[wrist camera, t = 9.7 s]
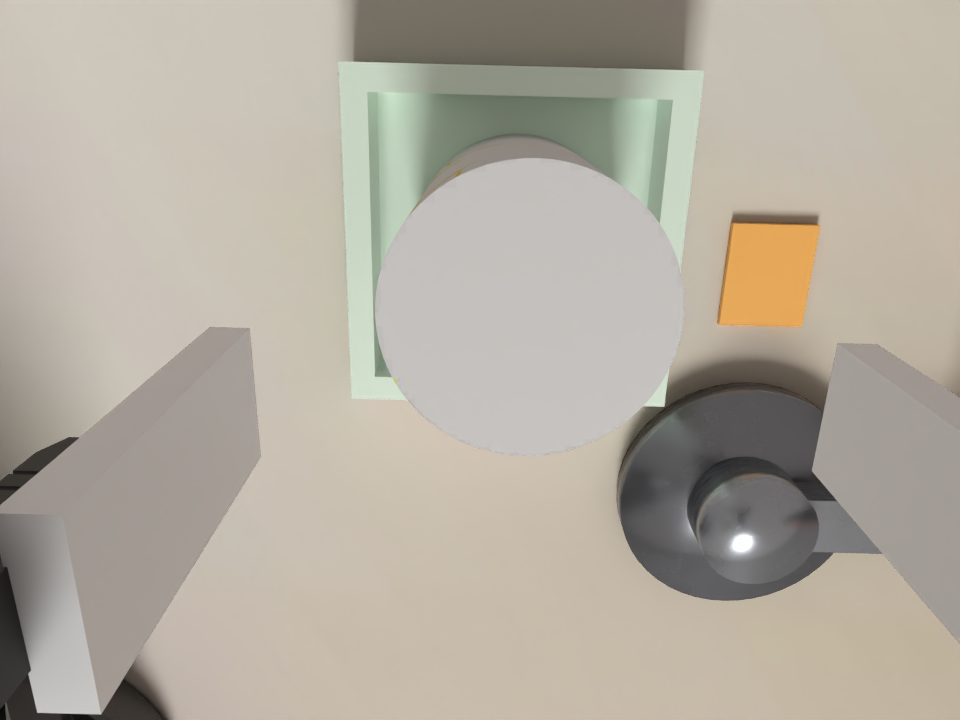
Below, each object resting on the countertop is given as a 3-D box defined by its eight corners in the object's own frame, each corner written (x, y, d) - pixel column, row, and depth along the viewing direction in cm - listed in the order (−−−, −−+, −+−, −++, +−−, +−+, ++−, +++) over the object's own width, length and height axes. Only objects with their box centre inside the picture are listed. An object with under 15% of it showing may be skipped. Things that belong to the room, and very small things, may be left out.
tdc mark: (717, 322, 32) (719, 324, 32) (731, 222, 31) (733, 223, 31) (799, 324, 32) (801, 326, 32) (817, 224, 31) (820, 225, 31)
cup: (443, 109, 29) (413, 119, 18) (640, 163, 30) (730, 206, 18) (399, 302, 32) (348, 417, 20) (579, 348, 32) (626, 484, 21)
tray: (362, 372, 33) (351, 398, 31) (352, 64, 29) (338, 61, 26) (649, 380, 33) (664, 406, 31) (683, 72, 29) (704, 70, 26)
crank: (681, 550, 35) (721, 646, 29) (694, 455, 33) (739, 536, 27) (973, 558, 35) (1075, 656, 29) (1002, 464, 33) (1116, 546, 27)
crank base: (607, 582, 37) (611, 597, 36) (627, 379, 33) (632, 389, 32) (825, 588, 37) (835, 603, 36) (870, 386, 33) (883, 396, 32)
